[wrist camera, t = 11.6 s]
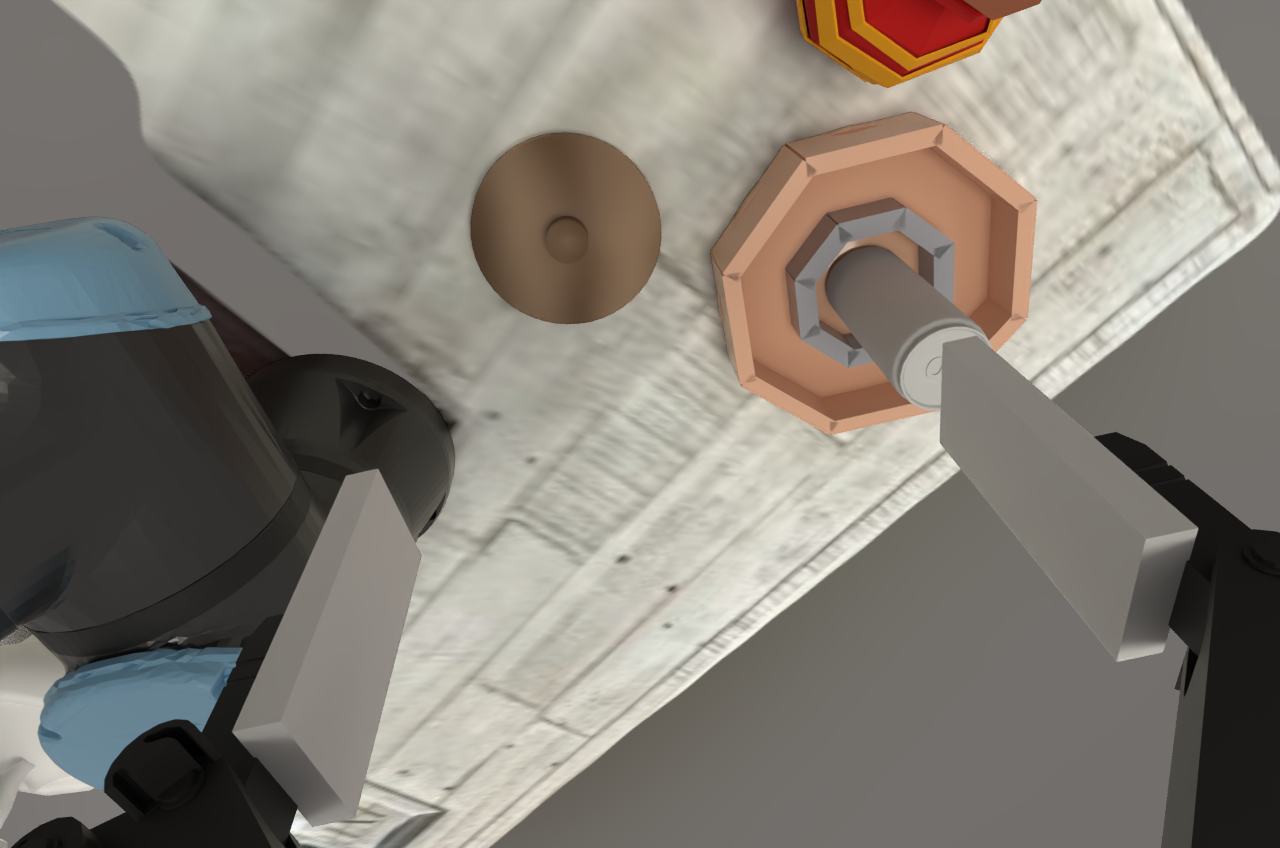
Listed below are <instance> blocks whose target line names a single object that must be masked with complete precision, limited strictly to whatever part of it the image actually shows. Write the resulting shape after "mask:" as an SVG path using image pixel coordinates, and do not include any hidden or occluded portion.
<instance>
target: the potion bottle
mask: <svg viewBox="0 0 1280 848" xmlns="http://www.w3.org/2000/svg"><path fill="white" fill-rule="evenodd" d="M1040 2H1041V0H796V3H797V10H798V17H799V24H800V31H801V33H802V35H803V37H804V39H805V40H806V41H807V42H809V43H810V44H812V45H813V46H815V47H816V48H817V49H819V50H820V51H822V52H823V53H825V54H826V55H828V56H829V57H830V58H832V59H833V60H835V61H836V62H838V63H839V64H840V65H842V66H843V67H845V68H846V69H848V70H849V71H850V72H852V73H853V74H855V75H856V76H858V77H859V78H860V79H862V80H863V81H865V82H867V81H868V82H870V83H872V84H878V85H881V86H884V87H887V88H890V87H892V86H895V85H897V84H900V83H902V82H905V81H908V80H910V79H913V78H915V77H918V76H920V75H923V74H926V73H928V72H931V71H933V70H936V69H938V68H941V67H944V66H946V65H949V64H951V63H954V62H956V61H959V60H962V59H964V58H967V57H969V56H972V55H974V54H977V53H980V51H981V50H982V48H983V47H984V45H985V44H986V42H987V41H988V39H989V38H990V36H991V35H992V33H993V32H994V30H995V29H996V27H997V25H998V24H999V22H1000V21H1001V19H1002V18H1003V17H1004V16H1007V15H1010V14H1013V13H1015V12H1018V11H1021V10H1024V9H1027V8H1029V7H1032V6H1035V5H1038V4H1039V3H1040ZM803 9H804V10H803ZM804 14H805V17H804ZM805 20H806V24H805ZM806 26H807V31H806Z"/></svg>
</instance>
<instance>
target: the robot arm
mask: <svg viewBox="0 0 1280 848" xmlns="http://www.w3.org/2000/svg"><path fill="white" fill-rule="evenodd" d="M211 317H212V316H211V314H210V312H209V310H208V309H207V308H206V307H205V306H204V305H201V304H199V303H198V302H197V301H196V299H195V298H194V296H193V295H192V293H191V292H190V291H189V289H188V288H187V286H186V285H185V284H184V282H183V281H182V279H181V278H180V277H179V275H178V274H177V272H176V271H175V269H174V268H173V266H172V265H171V263H170V262H169V260H168V259H167V257H166V256H165V255H164V253H163V252H162V250H161V249H160V247H159V246H158V245H157V244H156V243H155V241H154V240H153V239H152V238H151V237H149V236H148V235H147V234H146V233H145V232H143V231H142V230H140V229H139V228H137V227H135V226H133V225H130V224H128V223H126V222H123V221H120V220H116V219H112V218H106V217H83V218H73V219H66V220H59V221H53V222H47V223H41V224H35V225H29V226H23V227H18V228H13V229H7V230H2V231H0V641H1V640H2V639H4V638H5V637H6V636H8V635H9V634H11V633H12V632H14V631H15V630H17V629H18V628H19V627H21V626H24V627H26V628H27V629H28V630H29V631H30V632H31V633H32V634H33V635H34V636H35V637H36V638H37V639H38V640H39V641H40V642H41V643H42V644H43V645H44V646H45V647H46V648H47V649H48V650H49V651H50V652H51V653H52V654H53V655H54V656H55V657H56V658H57V659H58V660H59V661H60V662H61V663H62V665H63V666H64V668H65V676H64V677H63V678H60V679H58V680H56V681H55V682H54V684H53V685H52V686H51V687H50V689H49V690H48V691H47V693H46V694H45V696H44V699H43V702H44V707H43V709H42V711H41V714H40V721H41V723H40V725H39V727H38V733H37V734H38V738H39V741H40V744H41V747H42V748H43V750H44V751H45V753H46V754H47V755H48V756H49V758H50V759H51V760H52V761H53V762H54V763H55V764H56V765H57V766H58V767H59V768H61V769H62V770H63V771H65V772H66V773H68V774H69V775H71V776H72V777H74V778H76V779H77V780H79V781H81V782H83V783H85V784H87V785H89V786H92V787H94V788H97V789H99V790H102V791H104V792H105V793H106V794H107V795H108V796H109V797H110V798H111V799H112V800H113V801H115V802H116V803H117V804H118V805H119V806H120V807H121V808H122V809H123V810H124V811H126V812H125V813H123V814H121V815H119V816H117V817H115V818H113V819H111V820H109V821H107V822H104V823H102V824H100V825H98V826H96V827H94V828H92V829H90V830H89V829H88V828H87V827H86V826H85V825H83V824H82V823H81V822H80V821H78V820H76V819H75V818H73V817H65V818H64V817H63V818H56V819H54V820H51V821H49V822H47V823H45V824H42V825H40V826H39V827H37V828H35V829H34V830H32V831H31V832H29V833H28V834H26V835H25V836H24V837H22V838H21V839H20V840H19V841H18V842H16V843H15V844H14V845H13V846H12V847H11V848H301V846H300V844H299V842H298V841H297V840H296V838H295V837H294V836H293V835H292V834H291V833H290V829H291V826H292V823H293V820H294V817H295V814H296V811H297V809H298V810H299V811H300V813H301V814H302V815H303V816H304V817H305V819H306V820H307V821H308V822H309V823H310V824H311V826H312V827H314V826H319V825H323V824H328V823H333V822H338V821H343V820H348V819H353V818H355V817H356V813H357V809H358V805H359V801H360V797H361V793H362V789H363V785H364V781H365V777H366V773H367V769H368V765H369V761H370V757H371V754H372V750H373V746H374V742H375V738H376V734H377V730H378V726H379V722H380V718H381V714H382V710H383V706H384V702H385V698H386V694H387V690H388V686H389V682H390V678H391V674H392V670H393V667H394V663H395V659H396V655H397V651H398V647H399V643H400V639H401V635H402V631H403V627H404V623H405V619H406V615H407V611H408V607H409V603H410V599H411V595H412V591H413V587H414V583H415V580H416V576H417V572H418V568H419V564H420V560H421V556H422V555H421V553H420V551H419V549H418V547H417V545H416V541H417V539H418V538H419V537H420V536H421V535H423V534H424V533H425V532H426V531H427V530H428V529H429V527H430V526H431V525H432V524H433V523H434V522H435V520H436V519H437V518H438V516H439V514H440V513H441V511H442V509H443V507H444V505H445V503H446V500H447V498H448V494H449V491H450V487H451V483H452V478H453V474H454V467H455V453H454V447H453V442H452V438H451V435H450V433H449V430H448V428H447V426H446V424H445V422H444V420H443V418H442V416H441V415H440V413H439V412H438V410H437V409H436V408H435V406H434V405H433V404H432V403H431V402H430V401H429V399H428V398H427V397H426V396H425V395H424V394H423V393H421V392H420V391H419V390H418V389H417V388H416V387H414V386H413V385H412V384H410V383H409V382H408V381H406V380H405V379H403V378H402V377H400V376H399V375H396V374H395V373H393V372H391V371H389V370H387V369H385V368H383V367H381V366H379V365H376V364H373V363H371V362H368V361H365V360H361V359H357V358H353V357H348V356H342V355H334V354H307V355H300V356H294V357H289V358H286V359H282V360H279V361H276V362H274V363H271V364H269V365H267V366H265V367H263V368H261V369H260V370H258V371H257V372H255V373H254V374H252V375H251V376H250V377H249V378H247V379H246V380H245V379H244V377H243V375H242V374H241V372H240V370H239V369H238V367H237V365H236V363H235V362H234V360H233V358H232V357H231V355H230V353H229V352H228V350H227V348H226V347H225V345H224V343H223V342H222V340H221V338H220V337H219V335H218V333H217V331H216V330H215V328H214V326H213V325H212V323H211V321H210V320H209V319H210V318H211ZM940 443H941V445H942V446H943V447H944V448H945V450H946V451H947V452H948V453H949V455H950V456H951V457H952V458H953V460H954V461H955V462H956V463H957V465H958V466H959V467H960V468H961V470H962V471H963V472H964V473H965V474H966V475H967V477H968V478H969V479H970V481H971V482H972V483H973V484H974V486H975V487H976V488H977V489H978V491H979V492H980V493H981V494H982V496H983V497H984V498H985V499H986V500H987V502H988V503H989V504H990V505H991V507H992V508H993V509H994V510H995V512H996V513H997V514H998V515H999V517H1000V518H1001V519H1002V520H1003V522H1004V523H1005V524H1006V525H1007V526H1008V528H1009V529H1010V530H1011V531H1012V533H1013V534H1014V535H1015V536H1016V537H1017V539H1018V540H1019V541H1020V543H1021V544H1022V545H1023V546H1024V547H1025V549H1026V550H1027V551H1028V553H1029V554H1030V555H1031V556H1032V557H1033V559H1034V560H1035V561H1036V562H1037V564H1038V565H1039V566H1040V567H1041V569H1042V570H1043V571H1044V572H1045V574H1046V575H1047V576H1048V577H1049V579H1050V580H1051V581H1052V582H1053V584H1054V585H1055V586H1056V587H1057V588H1058V590H1059V591H1060V592H1061V593H1062V594H1063V596H1064V597H1065V598H1066V600H1067V601H1068V602H1069V603H1070V605H1071V606H1072V607H1073V608H1074V610H1076V612H1077V613H1078V614H1079V616H1080V617H1081V618H1082V619H1083V621H1084V622H1085V623H1086V624H1087V626H1088V627H1089V628H1090V629H1091V631H1092V632H1093V633H1094V634H1095V636H1096V637H1097V638H1098V639H1099V640H1100V642H1101V643H1102V644H1103V645H1104V647H1105V648H1106V649H1107V650H1108V652H1109V653H1110V654H1111V655H1112V657H1113V658H1114V659H1115V660H1116V661H1117V662H1118V661H1123V660H1128V659H1133V658H1137V657H1143V656H1147V655H1152V654H1157V653H1162V652H1163V650H1164V647H1165V643H1166V640H1167V636H1168V633H1169V629H1170V628H1171V629H1172V630H1173V631H1174V632H1175V633H1176V634H1177V635H1178V636H1179V637H1180V638H1181V639H1182V640H1183V641H1184V643H1185V644H1186V645H1187V646H1188V648H1187V651H1186V654H1185V657H1184V660H1183V664H1182V667H1181V670H1180V673H1179V677H1178V680H1177V683H1176V686H1175V689H1176V690H1180V695H1179V705H1178V712H1177V720H1176V729H1175V737H1174V745H1173V753H1172V762H1171V770H1170V779H1169V787H1168V796H1167V804H1166V811H1165V820H1164V828H1163V837H1162V845H1161V848H1280V533H1279V532H1275V531H1265V530H1255V529H1253V530H1251V529H1250V528H1249V527H1248V526H1246V525H1245V524H1244V523H1243V522H1241V521H1240V520H1239V519H1238V518H1236V517H1235V516H1234V515H1233V514H1231V513H1230V512H1229V511H1227V510H1226V509H1225V508H1224V507H1223V506H1221V505H1220V504H1219V503H1218V502H1216V501H1215V500H1214V499H1213V498H1211V497H1210V496H1209V495H1208V494H1206V493H1205V492H1204V491H1203V490H1201V489H1200V488H1199V487H1198V486H1196V485H1195V484H1194V483H1193V482H1191V481H1190V480H1189V479H1188V480H1185V478H1184V475H1183V474H1181V473H1180V472H1179V471H1178V470H1177V469H1175V468H1174V467H1173V466H1171V465H1169V466H1168V465H1167V462H1166V461H1165V460H1164V459H1163V458H1162V457H1160V456H1159V455H1158V454H1157V453H1155V452H1154V451H1153V450H1151V449H1150V448H1149V447H1148V446H1147V445H1145V444H1143V443H1140V442H1138V441H1135V440H1133V439H1131V438H1129V437H1126V436H1124V435H1122V434H1119V433H1117V432H1114V433H1109V434H1105V435H1100V436H1095V437H1093V436H1092V435H1091V434H1089V433H1088V432H1087V431H1086V430H1085V429H1084V428H1083V427H1081V426H1080V425H1079V424H1078V423H1077V422H1075V421H1074V420H1073V419H1072V418H1071V417H1070V416H1069V415H1068V414H1066V413H1065V412H1064V411H1063V410H1062V409H1061V408H1059V407H1058V406H1057V405H1056V404H1055V403H1054V402H1053V401H1051V400H1050V399H1049V398H1048V397H1047V396H1046V395H1044V394H1043V393H1042V392H1041V391H1040V390H1039V389H1038V388H1036V387H1035V386H1034V385H1033V384H1032V383H1031V382H1029V381H1028V380H1027V379H1026V378H1025V377H1024V376H1023V375H1021V374H1020V373H1019V372H1018V371H1017V370H1016V369H1014V368H1013V367H1012V366H1011V365H1010V364H1009V363H1008V362H1006V361H1005V360H1004V359H1003V358H1002V357H1001V356H999V355H998V354H997V353H996V352H995V351H994V350H993V349H991V348H990V347H989V346H988V345H987V344H986V343H984V342H983V341H982V340H981V339H980V338H979V337H978V336H972V337H968V338H963V339H959V340H954V341H950V342H945V343H943V344H942V381H941V419H940Z"/></svg>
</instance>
